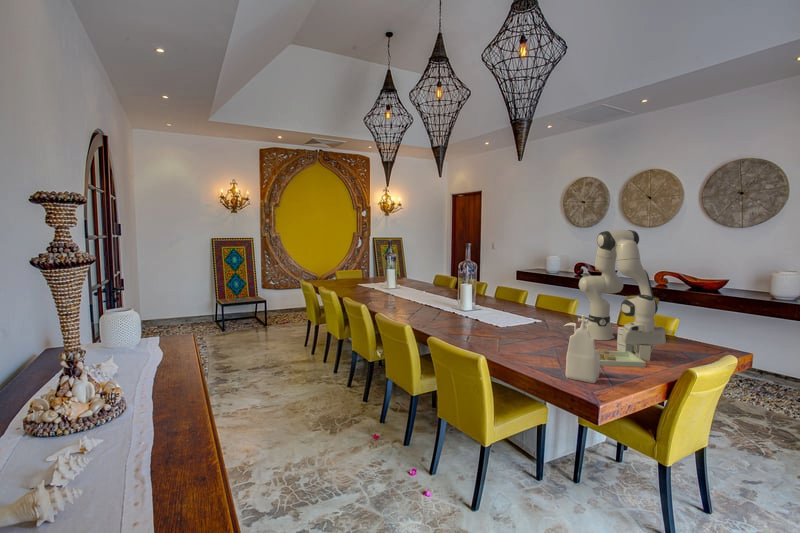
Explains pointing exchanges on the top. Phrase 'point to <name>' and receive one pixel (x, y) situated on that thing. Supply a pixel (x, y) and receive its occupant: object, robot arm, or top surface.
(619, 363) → the tray
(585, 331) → the cream tall nozzled container
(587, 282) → the robot arm
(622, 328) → the syrup box
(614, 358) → the maple block
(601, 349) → the maple block
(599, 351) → the maple block
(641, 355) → the cream hollow square tube
